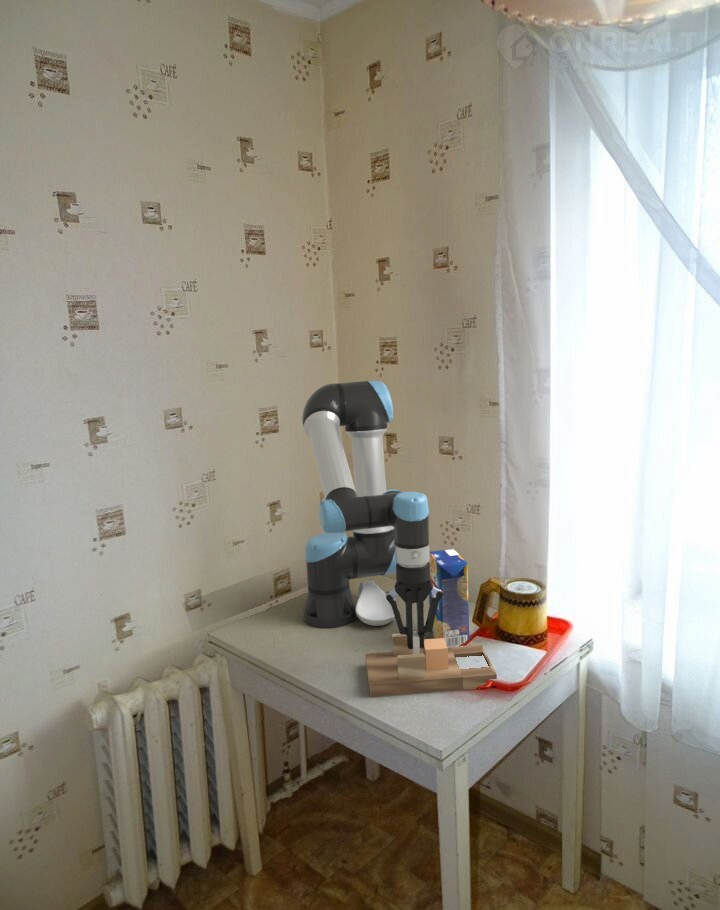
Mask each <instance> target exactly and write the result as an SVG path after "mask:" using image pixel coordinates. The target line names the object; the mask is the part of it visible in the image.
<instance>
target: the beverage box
mask: <svg viewBox="0 0 720 910" xmlns="http://www.w3.org/2000/svg"><path fill="white" fill-rule="evenodd" d="M429 555H430V560H429V563H430V581H431V583H432V585H433V587H435V588H440V589H441V591H442V594H443V596H442V598H441V599H440V601H439V602H438V606H437V611H436V615H435V620H434V624H433V629H432V632H430V634H431V635H432V636H433V639H437V638H444V639H445V642H446V645H447V647H459V646H460V645H461V644H463V643H465V642H466V641H467V640H469V641H470V617H469V616H470V615H469V614H470V613H469V612H470V611H469V609H470V608H469V572H468V571H469V570H468V562H467V561H466V560H465V559H464V558H463V557H462V556H461V554H459V553H458V552H457V551H456V550H455V549H454V548H449V549H442V550H432V551H429ZM428 598H429V599H428V600H429V602H428V605H429V606H430V602H431V598H432V596H431V592H430V594H429V595H428Z"/></svg>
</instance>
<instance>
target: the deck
mask: <svg viewBox="0 0 720 910" xmlns="http://www.w3.org/2000/svg"><path fill="white" fill-rule="evenodd" d="M391 637H392V639H391V641H392V651H383V652H373V653H365V667H366V674H367V675H366V676H367V682H368V689H369V696H370V698H377V697H391V696H401V695H412V694H427V693H438V692H440V693H441V692H450V691H451V692H452V691H463V690H465V691H466V690H474V689H475V690H477V687H478V686H481V685H482V686H483V685H485V684H487V682H486V681H487V680H489V679H497V680H498V677H497V675H498V674H497V672H496V669H495V668H494V667H493V665H492V662H491V660H490V659H489V656H488V654H487V653H486V651H485V649H484V647H483V644H477V645H476V644H475V645H469V646H460V647H448V669H439V670H426V664H425V655H424V654H423V648H420V654H412V649H409V648H408V645H407V635H405V634H403V635H401V634H400V633H392V634H391ZM482 655H483V656H484V658H485V660H486V662H487V664H488V666H489V667H481V668H469V669H459V666H458V664H457V661H456V659H455V658H456V657H467V656H468V657H469V656H482Z"/></svg>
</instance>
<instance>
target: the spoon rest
mask: <svg viewBox="0 0 720 910" xmlns="http://www.w3.org/2000/svg"><path fill="white" fill-rule="evenodd" d="M385 594H386V592H385V591H383V590H382V589H381V588H380V587H379V586H378V585H377V583H376V582H375V581H374V580H372V579H371V580H368V581H363V580H362V581H360V583H359V585H358V587H357V594H356V596H357V598H358V599H357V601H356V609H355V610H356V614H357V618H358V619H359V620H360V621H361V622H362V623H364V624H366V625H369V626H372V627H373V626H374V627H378V626H379V627H380V626H386V625H387V624H390V623H392V622H393V621H394V620H396V619H395V616H394V613H393V609H392V606H391V604H390V603H389V602H388V601H387V599H386V595H385ZM397 607H398V610H400V609H399V606H398V605H397Z"/></svg>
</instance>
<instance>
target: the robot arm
mask: <svg viewBox="0 0 720 910" xmlns="http://www.w3.org/2000/svg"><path fill="white" fill-rule="evenodd" d="M302 411H303V412H302V427H303V429H304V430H303V431H304V433H305V434H306V435H307V436H308V437H309V439H310V443H311V447H312V451H313V455H314V460H315V463H316V469H317V472H318V476H319V479H320V484H321V489H322V493H323V496H324V500H321V501H320V503H319V505H318V507H319V508H318V513H319V514H318V515H319V519H320V520H319V522H320V526H321V529H322V531H324V532H322V533H320V534H317V535H314V536H313V537H311V538H310V539H308V540H307V542H306V544H305V556H304V560H305V566H306V580H307V583H306V584H307V594H306V599H305V603H304V607H303V621H304V622H305V623H306V624H307V625H309V626H311V627H312V626H313V627H317V628H323V629H324V628H326V629H327V628H329V629H330V628H331V629H332V628H337V627H338V628H339V627H342V626H346V625H348V624H350V623H353V621H355V620H356V619H357V618H358V616H357V614H356V610H355V609H356V604H357V602H356V600H355V598H354V596H353V592H352V590H351V587H350V580H354V579H362V578H372V577H377V576H381V577H382V576H385V575H390V574H394V573H395V574H396V575H395V576H396V581H395V585H394V588H393V589H391V590H390V591H386V592H385V595H386V599H387V601H388V602H389V603H390V604H391V606H392V609H393V613H394V616H395V619H394V620H395V622H396V626H397V628H398V632H399V634H401V635H403V634H405V635H407V645H408V648H409V649H412V654H420V650H421V649H423V648H424V639H425V636H426V634H427V633H430V634H431V632H432V629H433V624H434V620H435V615H436V611H437V606H438V602H439V601H440V599H441V598H442V596H443V594H442V591H441V589H440V588H435V587H433V585H432V583H431V581H430V563H429V560H430V555H429V552H430V527H429V526H430V525H429V524H430V523H429V522H430V521H429V520H430V519H429V518H430V517H429V514H430V509H429V504H428V503H429V501H428V497H427V495H426V494H425V493H423V492H418V491H401V490H400V489H396V488H395V489H393V488H392V489H387V483H386V482H387V481H386V480H387V479H386V468H385V454H384V439H383V438H384V437H383V436H384V434H385V433H386V432H387V430H388V424H390V423H391V422H392V421H393V419H394V407H393V401H392V396H391V394H390V390H389V389H388V387H387V386H386V384H385V383H384V382H382V381H380V380H364V381H362V380H361V381H353V382H351V381H350V382H339V383H329V384H325V385H322V386H320V387H319V388H318V389H316V390H315V391H314V392H313V393H312V394H311V395H310V396H309V398H308V399H307V401H306V403H305V404H304V408H303V410H302ZM340 427H344V430H345V434H347V435H348V436H349V438H350V440H351V451H352V462H353V463H352V464H353V477H354V480H353V477H352V474H351V472H352V471H351V469H350V465H349V462H348V459H347V456H346V451H345V449H344V444H343V441H342V439H341V435H340V431H339V428H340ZM346 532H352V533H353V535H352V536H347V533H346ZM430 592H431V596H432V598H431V602H430V605H429V606H428V607H429V608H428V611H427V612H428V613H427V616H426V620H425V618H424V617H425V616H424V614H425V613H424V611H425V610H424V601H425V600H427V598H428V597H429V594H430ZM397 595H398V596H399V597H400V598H401V600H402V601H403V602H404V603H405V604H404V606H405V626H404V623H403V620H402V617H401V614H400V611H399V610H400V609H399V606H398V603H397V599H398V597H397ZM413 604H416V624H417V625H416V626H417V631H414V625H413V624H414V623H413ZM397 606H398V607H397ZM398 609H399V610H398ZM424 620H425V621H424Z"/></svg>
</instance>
